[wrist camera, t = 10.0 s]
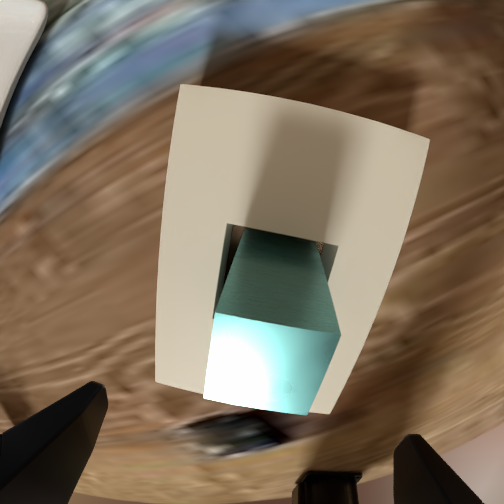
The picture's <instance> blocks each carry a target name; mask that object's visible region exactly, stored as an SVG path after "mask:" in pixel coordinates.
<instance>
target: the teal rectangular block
mask: <svg viewBox="0 0 504 504" xmlns="http://www.w3.org/2000/svg"><path fill="white" fill-rule="evenodd" d="M340 337H341V332H340V328H339V324H338V320H337V316H336V312H335V308H334V305H333V301H332V297H331V293H330V290H329V286H328V282H327V279H326V275H325V272H324V268H323V265H322V261H321V258H320V254H319V251H318V247H317V244H316V241H313V240H309V239H304V238H299V237H294V236H289V235H284V234H279V233H274V232H269V231H264V230H259V229H254V228H249V227H245V229H244V232H243V235H242V237H241V240H240V243H239V246H238V249H237V251H236V254H235V257H234V260H233V263H232V265H231V268H230V271H229V274H228V277H227V280H226V282H225V285H224V288H223V291H222V294H221V297H220V299H219V302H218V305H217V308H216V311H215V316H214V323H213V330H212V338H211V345H210V352H209V360H208V368H207V375H206V383H205V391H204V398H206V399H210V400H215V401H220V402H225V403H230V404H235V405H240V406H246V407H252V408H258V409H264V410H271V411H277V412H285V413H292V414H300V415H307V414H308V412H309V410H310V408H311V406H312V404H313V401H314V399H315V397H316V395H317V392H318V390H319V388H320V386H321V383H322V381H323V379H324V376H325V374H326V372H327V369H328V367H329V365H330V362H331V360H332V357H333V355H334V352H335V350H336V347H337V345H338V342H339V340H340Z"/></svg>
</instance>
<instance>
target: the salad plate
mask: <svg viewBox="0 0 504 504" xmlns="http://www.w3.org/2000/svg"><path fill="white" fill-rule="evenodd" d="M47 18H48V6H47V4H46V3H45V2H44V1H42V0H0V128H1V125H2V122H3V119H4V116H5V113H6V110H7V107H8V105H9V102H10V99H11V97H12V95H13V92H14V90H15V87H16V85H17V83H18V80H19V78H20V76H21V74H22V72H23V70H24V68H25V65H26V63H27V61H28V59H29V57H30V56H31V54H32V52H33V50H34V48H35V46H36V44H37V42H38V41H39V39H40V37H41V35H42V33H43V30H44V28H45V25H46V22H47Z"/></svg>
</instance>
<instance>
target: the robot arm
mask: <svg viewBox="0 0 504 504" xmlns="http://www.w3.org/2000/svg"><path fill="white" fill-rule="evenodd" d="M107 409H108V399H107V393H106V388H105V386H104V385H103V384H100V383H97V382H95V381H91V382H89V383H87V384H85V385H84V386H82V387H80V388H79V389H77V390H75V391H73V392H72V393H70V394H68V395H67V396H65V397H63V398H62V399H60V400H58V401H57V402H55V403H53V404H52V405H50V406H48V407H46V408H45V409H43V410H41V411H40V412H38V413H36V414H34V415H33V416H31V417H29V418H28V419H26V420H24V421H22V422H21V423H19V424H17V425H15V426H14V427H12V428H10V429H8V430H7V431H5V432H3V433H2V434H0V504H68V502H69V500H70V497H71V495H72V493H73V491H74V489H75V487H76V485H77V483H78V480H79V478H80V476H81V474H82V472H83V470H84V468H85V466H86V464H87V462H88V460H89V458H90V456H91V453H92V451H93V449H94V446H95V443H96V440H97V437H98V434H99V431H100V429H101V426H102V423H103V420H104V417H105V415H106V412H107ZM393 457H394V487H393V488H394V489H393V490H394V504H484V503H482V501H481V500H480V499H479V497H478V496H477V495H476V494H475V493H474V492H473V491H472V490H471V489H470V488H469V487H468V486H467V485H466V483H465V482H464V481H463V480H462V479H461V478H460V477H459V476H458V475H457V474H456V473H455V472H454V471H453V470H452V469H451V467H450V466H449V465H447V463H446V462H445V461H444V460H443V459H442V458H441V457H440V456H439V455H438V453H437V452H436V451H435V450H434V449H433V448H432V447H431V446H430V445H429V444H428V443H427V442H426V441H425V440H424V438H423V437H422V436H421V435H419V434H408V435H406V436H405V437H404V439H403V440H402V441H401V442H400V444H399V445H398V446H397V447H396V449H395V451H394V456H393ZM361 478H362V473H335V472H313V471H310V472H307V473H306V475H305V476H304V477H303V479H302V480H301V482H299V483H298V484H297V486H296V487H295V488H294V490H293V491H292V504H359V501H358V492H357V482H358V481H359V480H360V479H361Z"/></svg>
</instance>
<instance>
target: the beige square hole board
mask: <svg viewBox="0 0 504 504" xmlns="http://www.w3.org/2000/svg"><path fill="white" fill-rule="evenodd" d="M429 142H430V139H427V138H425V137H422V136H419V135H416V134H414V133H411V132H408V131H405V130H402V129H399V128H396V127H393V126H390V125H387V124H383V123H380V122H377V121H374V120H370V119H367V118H363V117H360V116H356V115H353V114H349V113H345V112H342V111H338V110H334V109H330V108H326V107H321V106H317V105H313V104H308V103H304V102H299V101H294V100H289V99H284V98H279V97H274V96H268V95H263V94H257V93H250V92H244V91H237V90H230V89H222V88H214V87H205V86H196V85H185V84H181V85H180V90H179V96H178V102H177V107H176V114H175V120H174V126H173V133H172V139H171V146H170V153H169V161H168V169H167V177H166V185H165V194H164V204H163V214H162V225H161V236H160V249H159V264H158V281H157V303H156V342H155V380H156V382H158V383H161V384H165V385H169V386H172V387H176V388H180V389H184V390H188V391H193V392H197V393H201V394H204V391H205V383H206V375H207V368H208V360H209V352H210V345H211V338H212V330H213V323H214V316H215V311H216V308H217V305H218V302H219V299H220V297H221V294H222V291H223V284H224V278H225V272H226V265H227V259H228V253H229V247H230V241H231V235H232V229H233V224H234V225H239V226H244V227H249V228H254V229H259V230H264V231H269V232H274V233H279V234H284V235H289V236H294V237H299V238H304V239H309V240H313V241H318V242H323V243H324V246H323V249H322V253H321V257H320V258H321V261H322V265H323V268H324V272H325V275H326V279H327V282H328V286H329V290H330V293H331V297H332V301H333V305H334V308H335V312H336V316H337V320H338V324H339V328H340V332H341V337H340V340H339V342H338V345H337V347H336V350H335V352H334V355H333V357H332V360H331V362H330V365H329V367H328V369H327V372H326V374H325V376H324V379H323V381H322V383H321V386H320V388H319V390H318V392H317V395H316V397H315V399H314V401H313V404H312V406H311V408H310V410H309V412H314V413H323V414H330V413H331V411H332V409H333V407H334V405H335V403H336V401H337V399H338V397H339V395H340V393H341V391H342V389H343V387H344V385H345V383H346V381H347V379H348V377H349V375H350V373H351V371H352V369H353V367H354V365H355V363H356V360H357V358H358V356H359V354H360V352H361V349H362V347H363V345H364V343H365V340H366V338H367V336H368V333H369V331H370V329H371V326H372V324H373V322H374V319H375V317H376V314H377V312H378V309H379V307H380V304H381V302H382V299H383V297H384V294H385V291H386V289H387V286H388V283H389V281H390V278H391V275H392V272H393V269H394V267H395V264H396V261H397V258H398V255H399V252H400V249H401V246H402V243H403V240H404V237H405V234H406V230H407V227H408V224H409V221H410V217H411V214H412V210H413V207H414V203H415V200H416V196H417V192H418V189H419V185H420V181H421V177H422V173H423V169H424V165H425V160H426V156H427V152H428V147H429Z"/></svg>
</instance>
